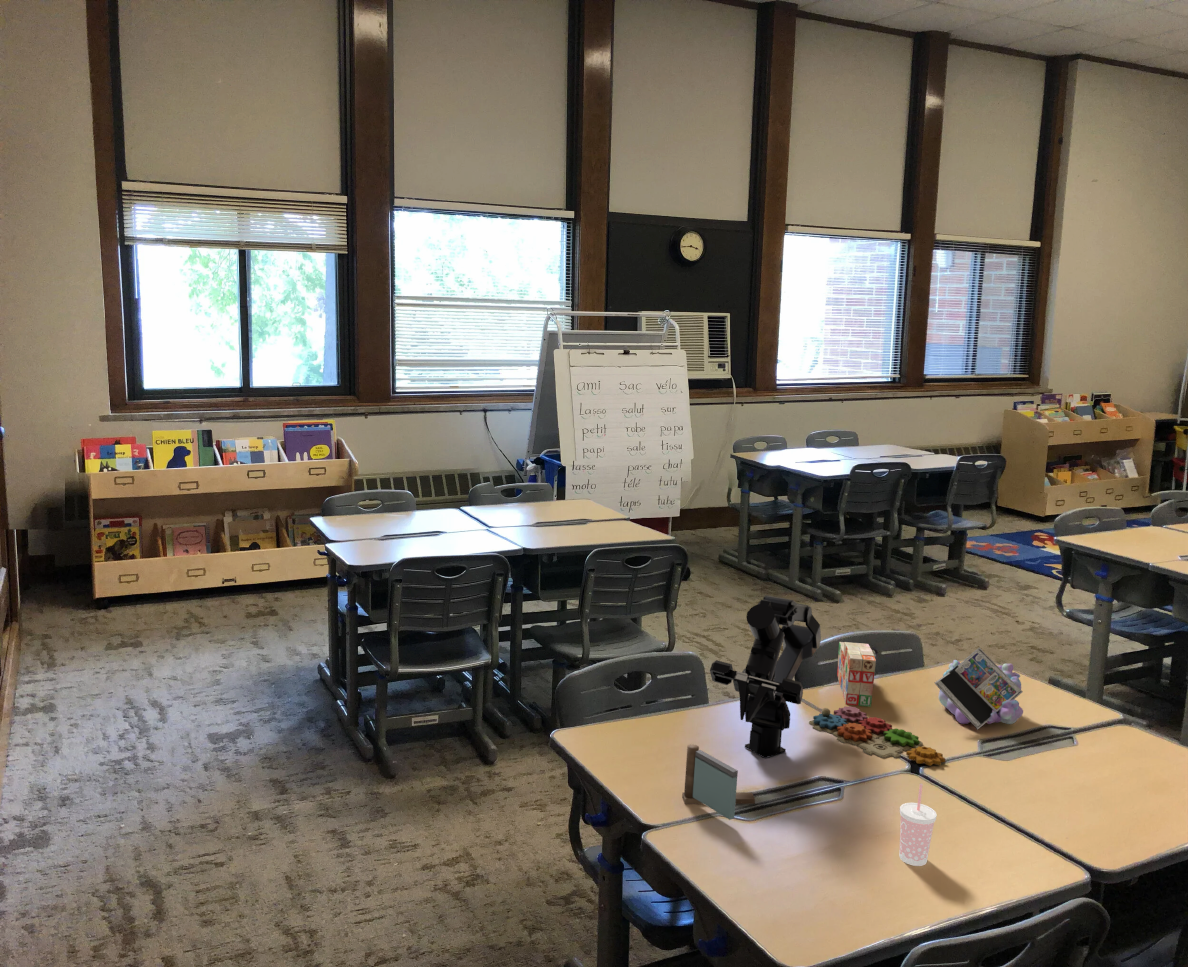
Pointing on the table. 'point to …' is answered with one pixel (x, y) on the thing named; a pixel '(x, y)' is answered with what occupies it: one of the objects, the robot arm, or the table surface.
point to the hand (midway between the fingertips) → (744, 720)
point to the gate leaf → (715, 784)
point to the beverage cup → (916, 831)
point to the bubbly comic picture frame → (980, 691)
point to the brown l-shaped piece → (689, 781)
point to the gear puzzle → (874, 735)
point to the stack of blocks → (856, 673)
